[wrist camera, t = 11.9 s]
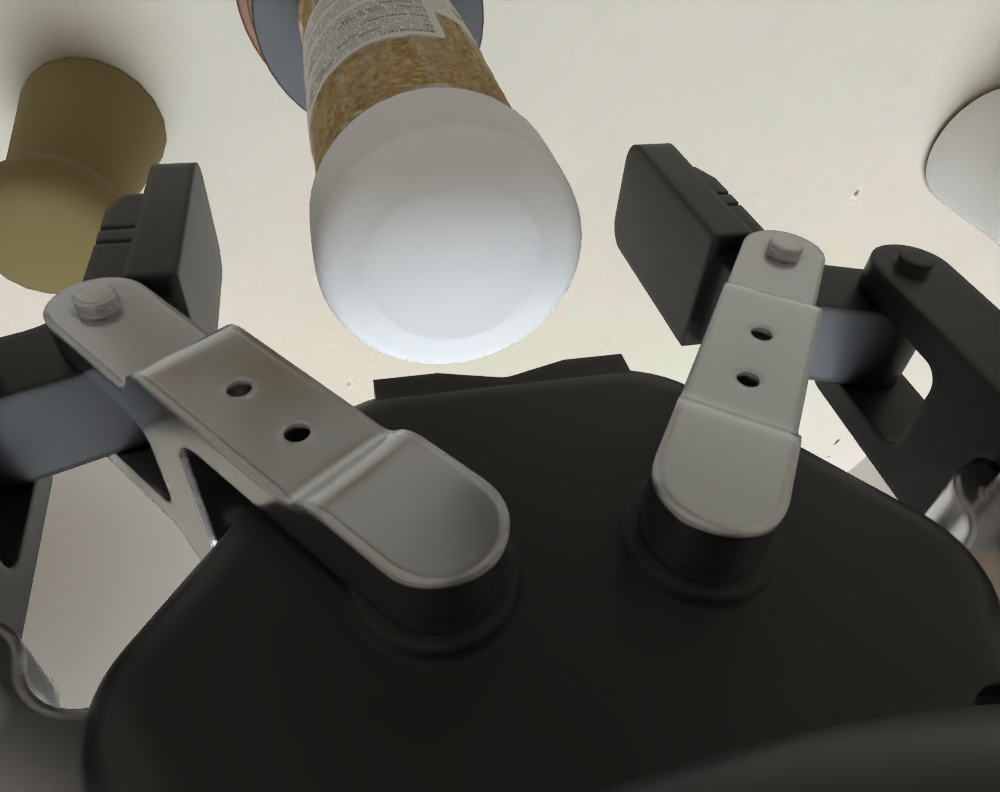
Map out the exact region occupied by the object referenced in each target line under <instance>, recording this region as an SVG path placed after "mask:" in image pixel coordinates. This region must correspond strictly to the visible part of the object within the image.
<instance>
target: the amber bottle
mask: <svg viewBox="0 0 1000 792" xmlns="http://www.w3.org/2000/svg"><path fill="white" fill-rule="evenodd" d="M236 1H237V6H238V10H239V13H240V16H241V19H242V22H243V25H244V27H245V30H246V32H247V34H248V36H249V38H250V40H251V42H252V44H253V46H254V47H255V49H256V50H257V52H258V53H259V55H260V57H261V58H262V60H263V61H264V62H265V63H266V65H267V66H268V68H269V70H270V72H271V73H272V75H273V76H274V78H275V79H276V81H277V83H278V84H279V85H280V86H281V88H282V89H283V90H284V91H285V92H286V94H287V95H288V96H289V97H290V98H291V99H292V100H293V101H294V102H295V103H296V104H298V105H299V106H300V107H301V108H302V109H304V110H305V111H306V112H307V107H306V91H305V78H304V63H303V44H302V41H301V38H300V33H299V27H298V4H299V0H236ZM450 2H451V3H452V4H453V6H454V7H455V9H456V10H457V12H458V13H459V15H460V16H461V18H462V20H463V21H464V23H465V25H466V26H467V28H468V30H469V31H470V33H471V35H472V36H473V38H474V40H475V41H476V43H477V44H478V46H479V48H480V45H481V40H482V34H483V24H484V14H483V0H450Z"/></svg>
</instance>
